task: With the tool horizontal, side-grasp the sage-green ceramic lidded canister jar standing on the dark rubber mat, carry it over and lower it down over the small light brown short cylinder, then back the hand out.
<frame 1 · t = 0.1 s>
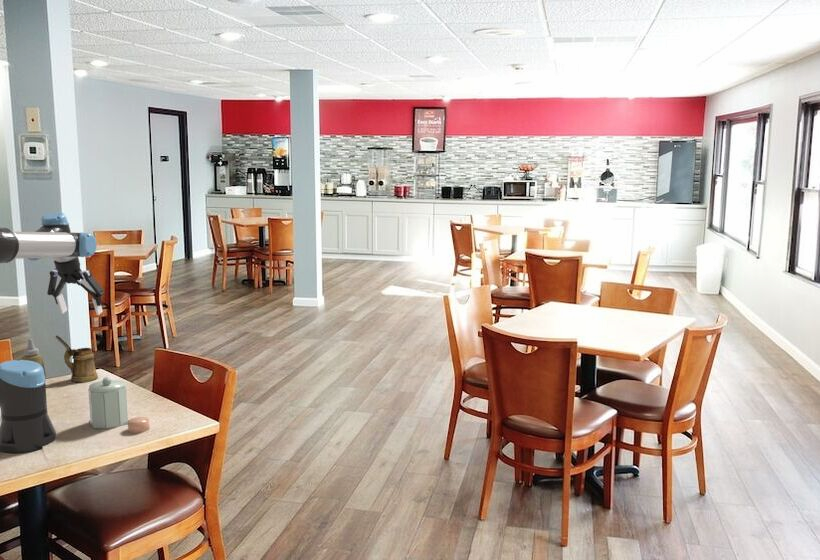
hand: (82, 312, 255), 28 cm above the table, tool tilted 20°, fingers open, 13 cm apart
wooden mug: (78, 380, 270), on the table
light brown short cylinder: (139, 431, 219), on the table
lidded canister jar: (109, 422, 225), point 1 cm above the table, touching mat
mat: (109, 424, 225), on the table
squeeze bottle: (34, 389, 259), on the table
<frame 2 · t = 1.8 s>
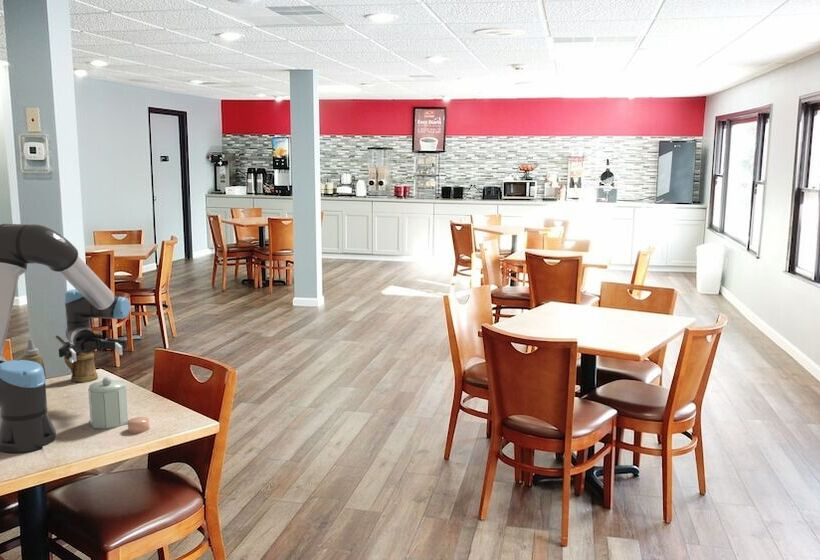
hand: (98, 354, 229), 20 cm above the table, tool horizontal, fingers open, 13 cm apart
nothing on the table moved.
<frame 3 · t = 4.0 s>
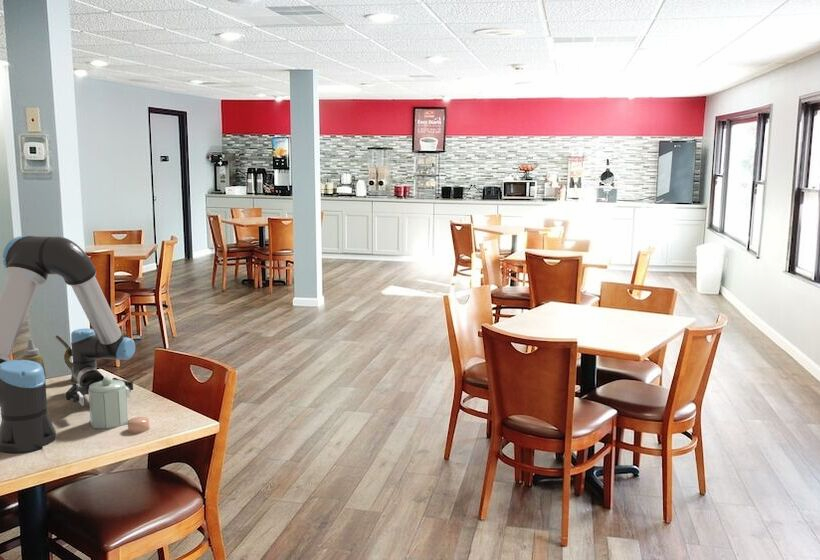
hand: (106, 397, 229), 7 cm above the table, tool horizontal, fingers open, 13 cm apart
nothing on the table moved.
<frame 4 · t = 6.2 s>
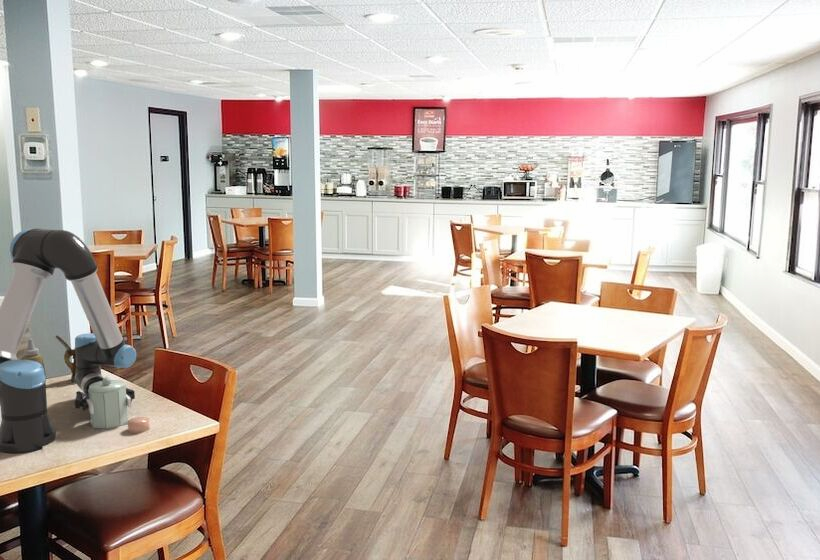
hand: (111, 406, 220), 7 cm above the table, tool horizontal, fingers closed on lidded canister jar, 10 cm apart
lidded canister jar: (109, 422, 225), point 1 cm above the table, touching gripper, mat
everything else where it was.
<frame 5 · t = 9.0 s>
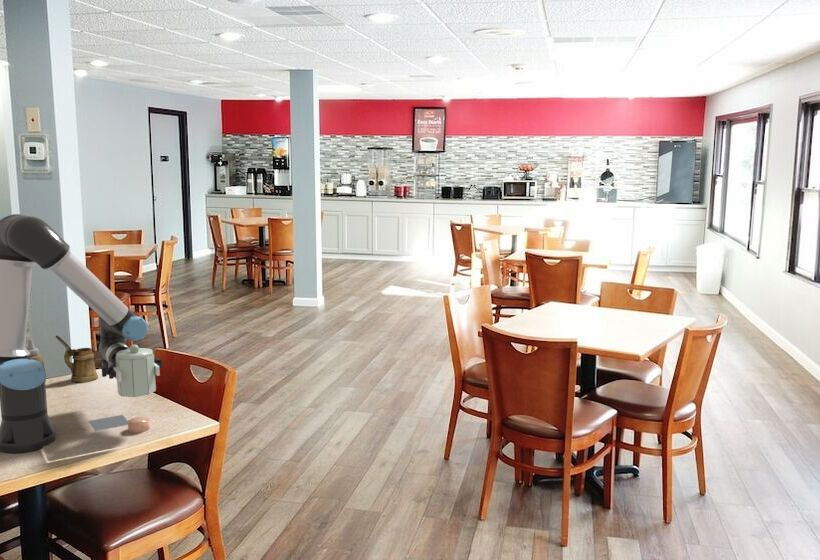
hand: (139, 374, 213), 19 cm above the table, tool horizontal, fingers closed on lidded canister jar, 10 cm apart
lidded canister jar: (136, 391, 217), point 12 cm above the table, touching gripper
everything else where it was.
when the fingers open (8 cm above the table, at t = 11.9 s): lidded canister jar drops 2 cm, on the table.
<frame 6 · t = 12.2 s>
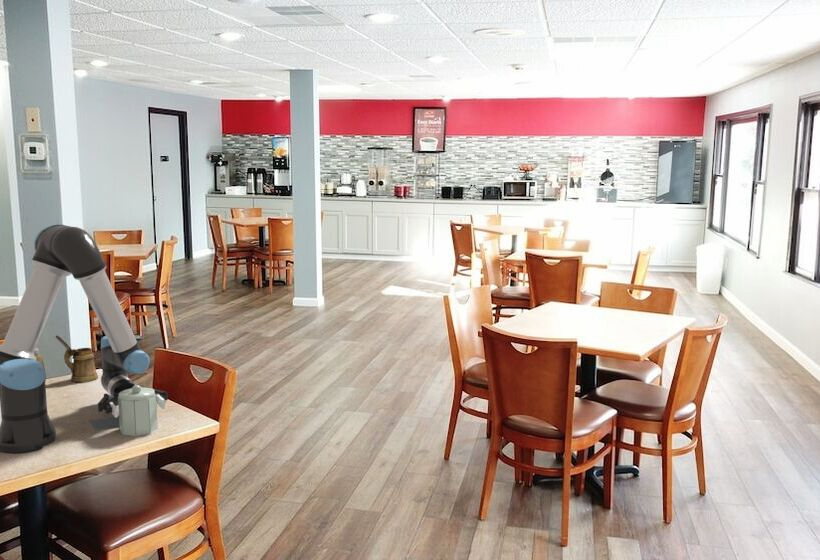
hand: (140, 408, 215), 8 cm above the table, tool horizontal, fingers open, 13 cm apart
lidded canister jar: (138, 431, 219), on the table
everything else where it was.
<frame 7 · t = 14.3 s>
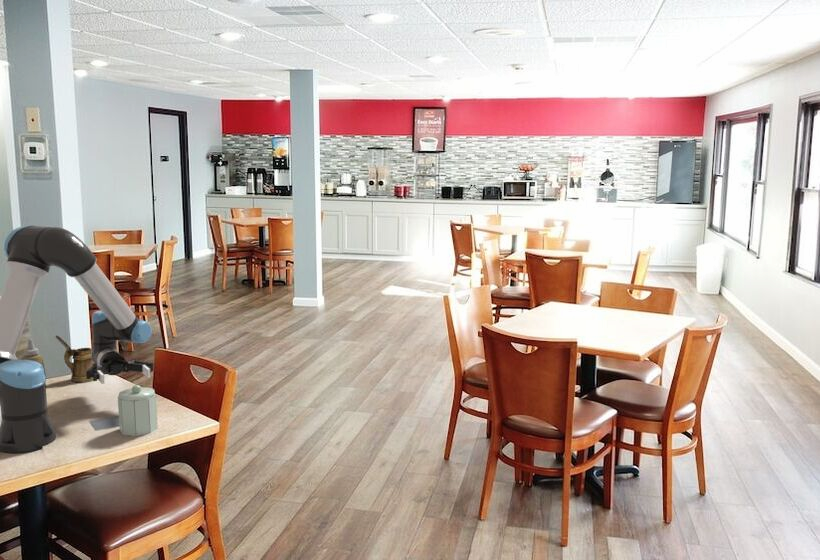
hand: (126, 376, 226), 14 cm above the table, tool horizontal, fingers open, 13 cm apart
nothing on the table moved.
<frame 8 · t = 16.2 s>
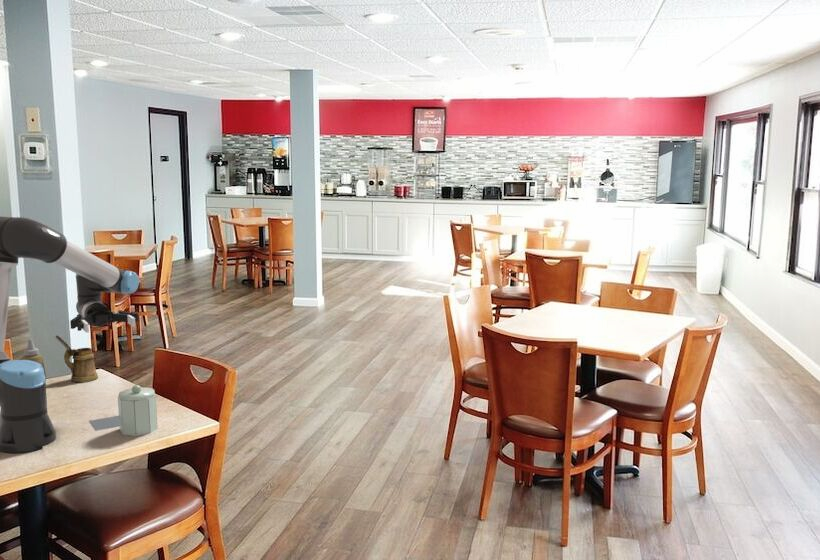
hand: (111, 325, 225), 30 cm above the table, tool horizontal, fingers open, 13 cm apart
nothing on the table moved.
at the end: lidded canister jar 0.1 cm from the light brown short cylinder (horizontally); lidded canister jar on the table; lidded canister jar tilted 0° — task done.
